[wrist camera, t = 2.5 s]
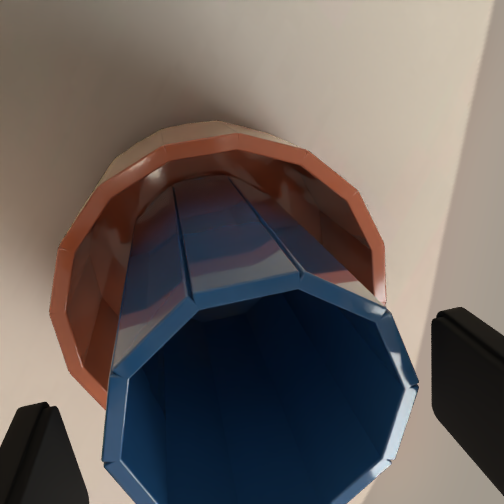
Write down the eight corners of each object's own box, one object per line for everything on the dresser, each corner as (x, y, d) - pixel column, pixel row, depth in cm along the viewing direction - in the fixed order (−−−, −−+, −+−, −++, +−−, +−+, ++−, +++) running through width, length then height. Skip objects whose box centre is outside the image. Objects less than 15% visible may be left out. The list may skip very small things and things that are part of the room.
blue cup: (111, 191, 18) (54, 321, 8) (281, 161, 19) (419, 245, 9) (148, 336, 21) (139, 574, 11) (297, 303, 22) (420, 494, 12)
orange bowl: (48, 144, 18) (-1, 171, 12) (316, 102, 19) (380, 109, 14) (116, 376, 22) (102, 474, 16) (334, 327, 23) (390, 401, 18)
